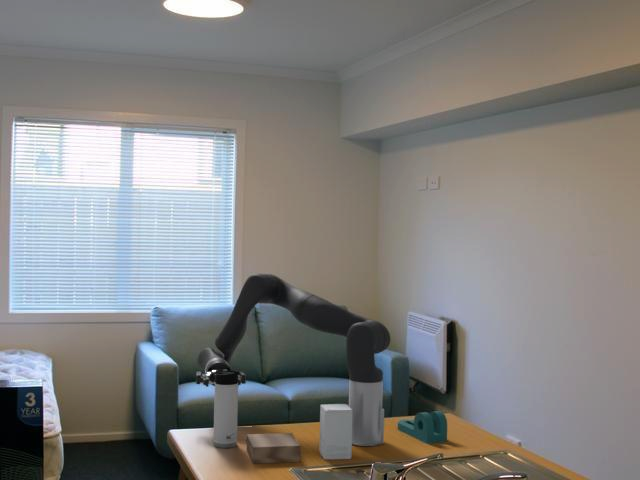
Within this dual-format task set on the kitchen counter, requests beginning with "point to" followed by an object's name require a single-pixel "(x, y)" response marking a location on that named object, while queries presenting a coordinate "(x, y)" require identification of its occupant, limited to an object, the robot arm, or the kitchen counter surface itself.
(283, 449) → the walnut plinth
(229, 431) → the travel mug
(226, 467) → the kitchen counter surface
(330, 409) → the supplement box
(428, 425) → the bracket
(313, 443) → the kitchen counter surface
